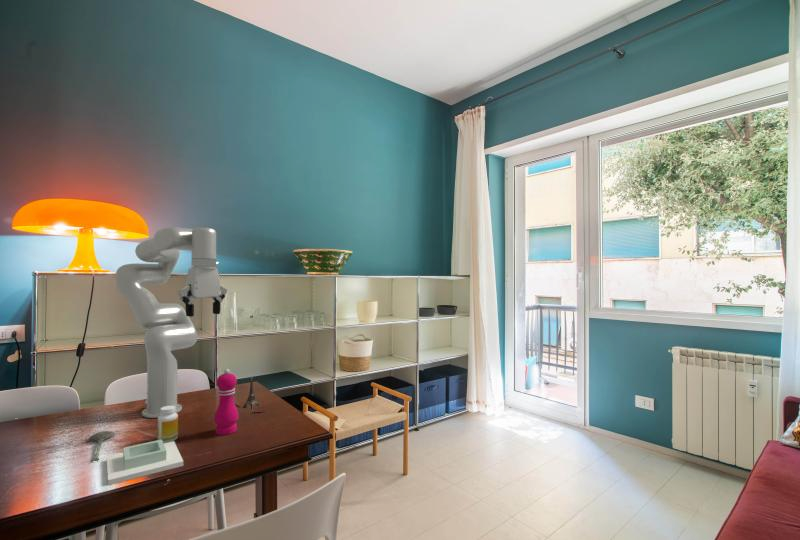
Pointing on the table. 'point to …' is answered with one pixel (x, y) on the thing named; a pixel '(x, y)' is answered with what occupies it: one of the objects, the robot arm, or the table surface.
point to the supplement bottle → (168, 424)
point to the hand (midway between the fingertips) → (203, 315)
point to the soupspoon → (100, 441)
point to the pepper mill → (226, 404)
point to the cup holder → (142, 460)
